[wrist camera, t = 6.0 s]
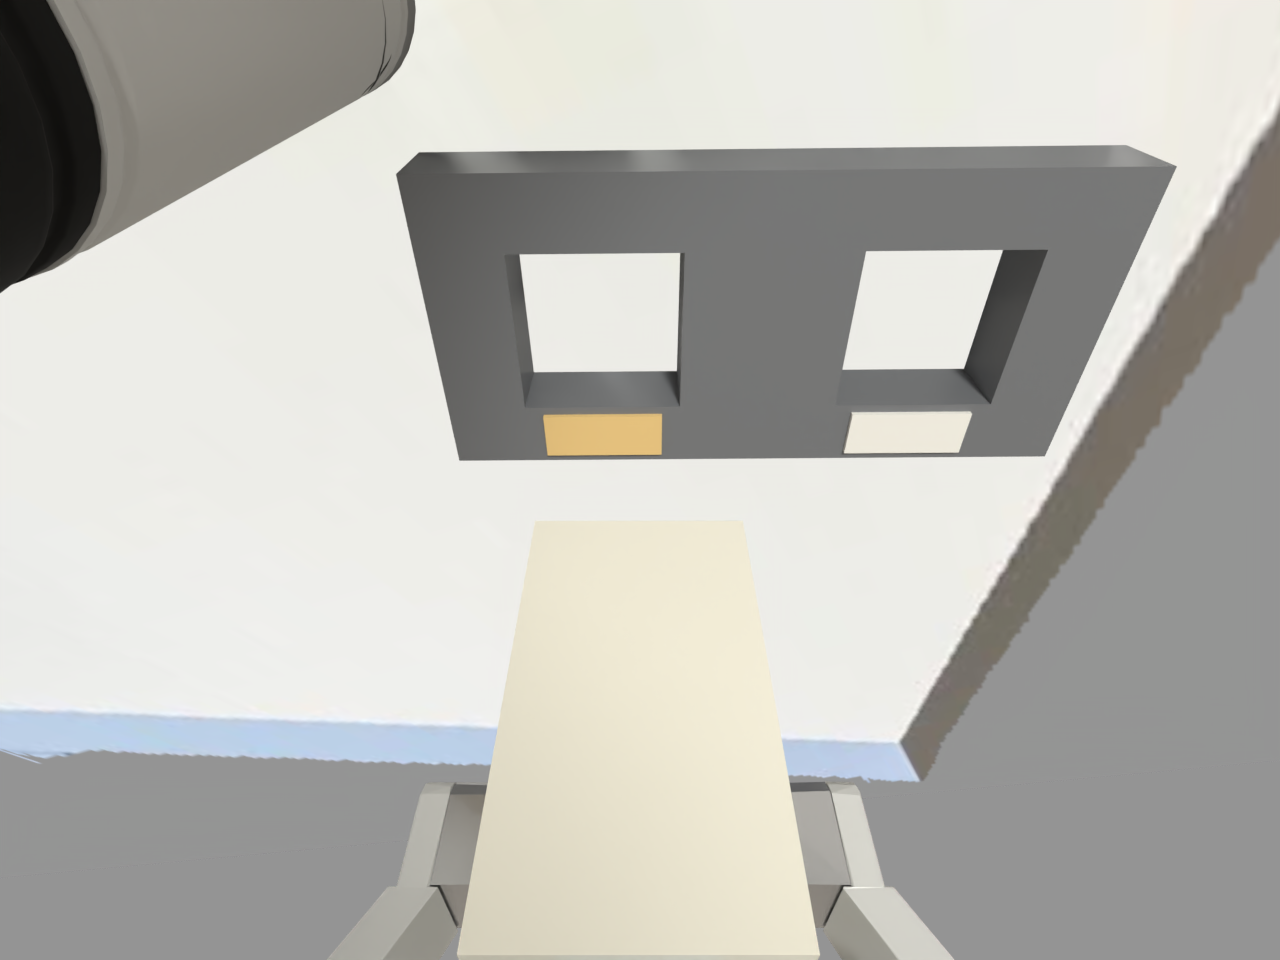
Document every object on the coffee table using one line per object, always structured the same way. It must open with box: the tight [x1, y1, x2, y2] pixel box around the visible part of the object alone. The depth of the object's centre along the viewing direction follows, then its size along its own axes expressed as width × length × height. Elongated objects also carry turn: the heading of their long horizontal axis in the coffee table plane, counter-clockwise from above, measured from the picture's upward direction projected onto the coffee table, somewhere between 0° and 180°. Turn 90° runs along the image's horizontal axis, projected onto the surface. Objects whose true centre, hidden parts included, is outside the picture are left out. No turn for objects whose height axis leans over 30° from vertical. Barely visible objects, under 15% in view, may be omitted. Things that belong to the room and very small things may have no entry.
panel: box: [396, 145, 1177, 461], centre depth 27 cm, size 12×26×3 cm, turn 91°
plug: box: [457, 521, 820, 960], centre depth 12 cm, size 4×4×10 cm
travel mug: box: [0, 0, 416, 293], centre depth 14 cm, size 6×7×20 cm
